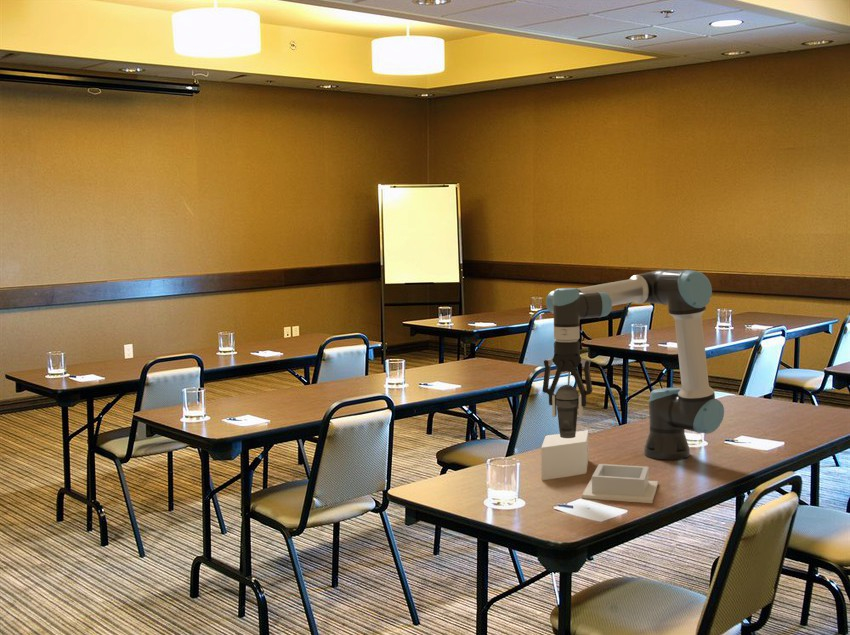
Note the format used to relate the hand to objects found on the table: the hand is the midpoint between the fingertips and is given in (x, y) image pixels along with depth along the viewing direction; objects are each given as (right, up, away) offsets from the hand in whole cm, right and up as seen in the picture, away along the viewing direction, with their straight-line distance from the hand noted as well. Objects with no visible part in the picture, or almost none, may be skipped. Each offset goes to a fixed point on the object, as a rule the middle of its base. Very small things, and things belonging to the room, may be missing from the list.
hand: (567, 416), depth 279 cm
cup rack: (+16, -22, 0) cm, 28 cm away
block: (+3, -21, +26) cm, 33 cm away
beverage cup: (0, -6, +1) cm, 6 cm away
